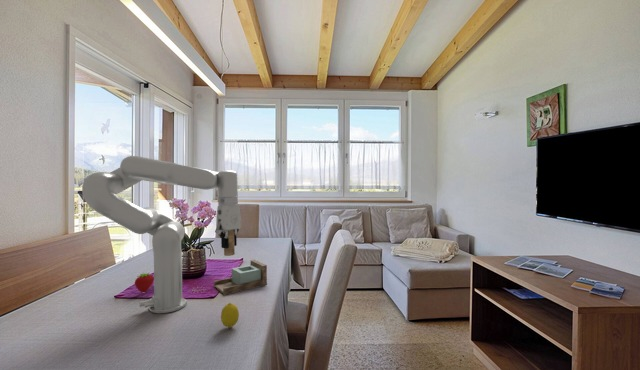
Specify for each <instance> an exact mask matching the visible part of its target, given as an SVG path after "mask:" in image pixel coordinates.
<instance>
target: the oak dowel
mask: <svg viewBox="0 0 640 370" xmlns="http://www.w3.org/2000/svg"><path fill="white" fill-rule="evenodd" d="M223 233H224V234H225V232H223ZM227 238H228V239H229V248H223V255H224V257H225V256H226V257H229V256H235V255H236V254H235V246H234V230H229V231H228V236H227Z"/></svg>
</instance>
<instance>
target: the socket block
mask: <svg viewBox="0 0 640 370" xmlns="http://www.w3.org/2000/svg"><path fill="white" fill-rule="evenodd" d="M231 277H232V282H234V283H235V284H237V285H239V284H243V283H248V282H252V281H256V280H261V269H259V268H257V267H255V266H253V265H251V264H248V265H242V266H237V267H232V268H231Z"/></svg>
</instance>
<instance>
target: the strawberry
mask: <svg viewBox="0 0 640 370" xmlns="http://www.w3.org/2000/svg"><path fill="white" fill-rule="evenodd" d="M136 277H137V278H136V279H135V280H134V285H135V288H136V289H137V290H138V291H140V292H141V293H142V292H146V293H147V291H148V290H149V289H150V288H151V287H152V285H154V275H152V274H151V273H150V272H147V273H140V275H137V276H136Z"/></svg>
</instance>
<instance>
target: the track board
mask: <svg viewBox="0 0 640 370" xmlns="http://www.w3.org/2000/svg"><path fill="white" fill-rule="evenodd" d="M250 265H253V266H255V267H257V268H259V269H261V280H256V281H252V282H248V283H243V284H239V285H237V284H235V283H234V282H232V276H231V277H226V278H223V279H222V278H221V279H217V280H213V287H214V288H215V287H216V288H217V289H216V288H215V289H216V290H218V292H220V293H221V294H222V295H224V296H225V295H228V294H234V293H238V292H241V291H245V290H250V289H254V288H258V287H259V288H260V287H264V286H265V285H267V284H268V276H267V275H268V270H267V267H268V265H267V264H265V263H263V262H261V261H258V260H256V259H251V260H250Z"/></svg>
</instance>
